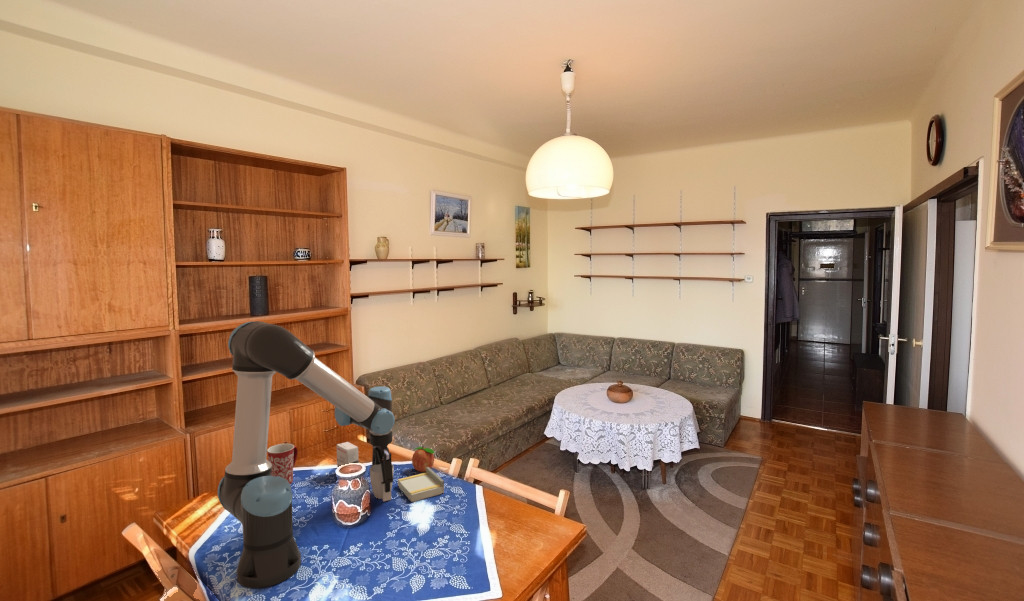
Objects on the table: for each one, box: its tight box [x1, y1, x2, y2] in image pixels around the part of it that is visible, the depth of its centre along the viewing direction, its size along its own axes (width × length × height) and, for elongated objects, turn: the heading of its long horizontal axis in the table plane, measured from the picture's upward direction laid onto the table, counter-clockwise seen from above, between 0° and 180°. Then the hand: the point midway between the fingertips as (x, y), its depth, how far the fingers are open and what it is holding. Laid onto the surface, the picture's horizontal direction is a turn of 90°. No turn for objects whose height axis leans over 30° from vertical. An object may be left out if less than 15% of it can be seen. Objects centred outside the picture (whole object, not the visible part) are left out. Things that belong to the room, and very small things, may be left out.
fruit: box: [411, 444, 435, 473], centre depth 190 cm, size 9×10×10 cm
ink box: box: [336, 441, 360, 467], centre depth 185 cm, size 9×5×12 cm, turn 47°
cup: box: [369, 464, 395, 500], centre depth 169 cm, size 8×8×10 cm
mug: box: [267, 443, 299, 485], centre depth 180 cm, size 13×9×14 cm
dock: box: [397, 467, 445, 503], centre depth 174 cm, size 14×12×4 cm
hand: (382, 494), depth 170 cm, fingers open, 9 cm apart
